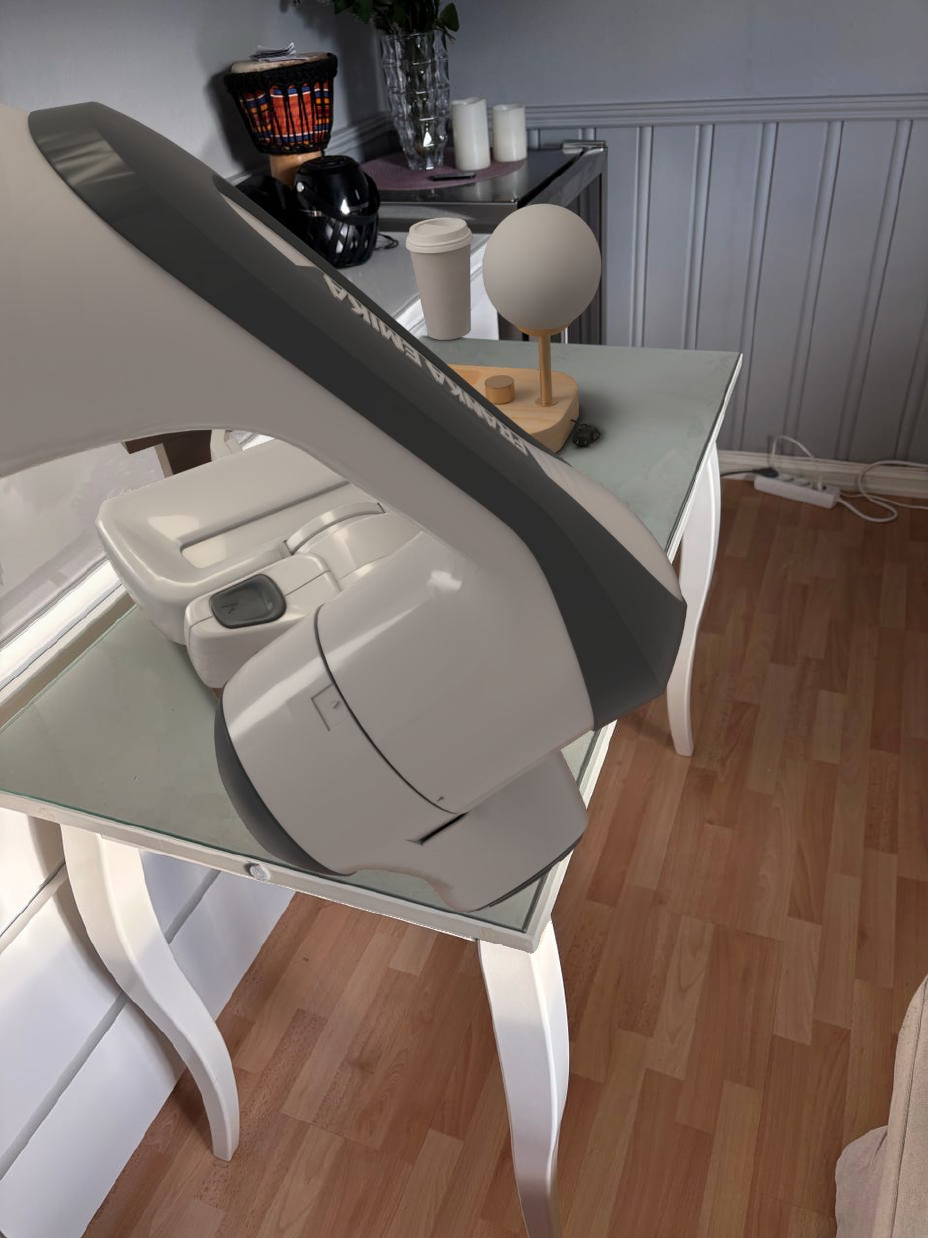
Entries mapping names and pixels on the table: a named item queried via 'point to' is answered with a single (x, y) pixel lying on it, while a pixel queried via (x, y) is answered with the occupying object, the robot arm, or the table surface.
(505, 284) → the lamp
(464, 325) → the coffee cup
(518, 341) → the table surface
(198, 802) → the table surface
